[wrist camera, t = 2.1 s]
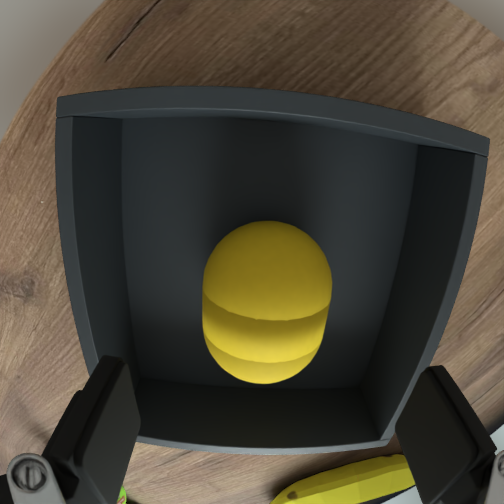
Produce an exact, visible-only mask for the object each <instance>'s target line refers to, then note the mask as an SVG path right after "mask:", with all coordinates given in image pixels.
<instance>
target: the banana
mask: <svg viewBox="0 0 504 504" xmlns="http://www.w3.org/2000/svg"><path fill="white" fill-rule="evenodd" d="M414 484H415V482H414V479H413V476H412V474H411V471H410V468H409V466H408V463H407V461H406V458H405V455H399V454H395V455H389V456H381V457H376V458H372V459H368V460H364V461H360V462H355V463H351V464H348V465H345V466H342V467H339V468H335V469H332V470H328V471H325V472H321V473H319V474H316V475H314V476H311V477H308V478H306V479H303V480H300V481H297V482H295V483H294V484H292V485H290V486H289V487H287V488H285V489H284V490H283V491H282V492H281V493H280V494H279V495H278V496H277V497H276V498H275V499H274V500H273V501H272V502H271V503H270V504H357V503H360V502H364V501H367V500H371V499H374V498H378V497H381V496H384V495H387V494H390V493H394V492H397V491H400V490H403V489H406V488H408V487H410V486H412V485H414Z"/></svg>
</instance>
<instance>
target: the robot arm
mask: <svg viewBox="0 0 504 504" xmlns="http://www.w3.org/2000/svg"><path fill="white" fill-rule="evenodd" d="M140 424H141V419H140V415H139V411H138V407H137V403H136V398H135V394H134V390H133V385H132V380H131V376H130V371H129V366H128V364H127V363H124V362H123V359H122V358H121V357H115V356H109V355H103V356H102V357H101V359H100V361H99V362H98V364H97V366H96V367H95V369H94V371H93V373H92V374H91V376H90V378H89V379H88V381H87V383H86V385H85V387H84V388H83V390H79V391H77V392H76V393H75V394H74V396H73V398H72V399H71V401H70V403H69V405H68V406H67V408H66V410H65V412H64V414H63V415H62V417H61V419H60V421H59V423H58V425H57V426H56V428H55V430H54V432H53V434H52V436H51V438H50V440H49V441H48V443H47V445H46V447H45V449H44V451H43V453H42V455H41V456H40V455H38V454H34V453H23V454H20V455H18V456H16V457H15V458H14V459H12V460H11V462H10V463H9V465H8V468H7V474H5V475H1V476H0V504H117V501H118V498H119V494H120V491H121V487H122V484H123V481H124V477H125V474H126V471H127V467H128V464H129V461H130V458H131V454H132V451H133V448H134V445H135V442H136V439H137V435H138V432H139V429H140ZM395 433H396V435H397V438H398V440H399V443H400V445H401V448H402V450H403V453H404V455H405V458H406V461H407V463H408V466H409V468H410V471H411V474H412V476H413V479H414V482H415V484H416V487H417V490H418V492H419V495H420V498H421V500H422V503H423V504H504V450H503V451H501V452H499V453H498V454H497V455H495V453H494V452H495V451H496V450H497V447H496V446H495V444H494V443H493V441H492V439H491V437H490V436H489V434H488V432H487V431H486V429H485V428H484V426H483V424H482V423H481V421H480V420H479V418H478V416H477V415H476V413H475V412H474V410H473V409H472V407H471V406H470V404H469V403H468V401H467V399H466V398H465V396H464V395H463V393H462V392H461V390H460V389H459V387H458V386H457V385H456V383H455V382H454V380H453V379H452V377H451V376H450V374H449V373H448V372H447V370H446V369H445V367H444V366H442V365H439V366H430V367H427V368H425V370H424V371H423V372H421V374H420V376H419V378H418V380H417V382H416V384H415V386H414V388H413V390H412V392H411V395H410V397H409V399H408V401H407V403H406V404H405V406H404V408H403V410H402V412H401V414H400V416H399V418H398V420H397V421H396V424H395Z"/></svg>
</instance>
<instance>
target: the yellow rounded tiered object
mask: <svg viewBox="0 0 504 504" xmlns="http://www.w3.org/2000/svg"><path fill="white" fill-rule="evenodd" d="M331 293H332V276H331V270H330V267H329V264H328V262H327V259H326V256H325V254H324V253H323V251H322V250H321V248H320V247H319V245H318V244H317V243H316V242H315V241H314V240H313V239H312V238H311V237H310V236H309V235H308V234H306V233H305V232H303V231H302V230H300V229H298V228H297V227H295V226H293V225H290V224H286V223H282V222H278V221H257V222H252V223H249V224H246V225H243V226H241V227H238V228H237V229H235V230H234V231H232V232H230V233H229V234H228V235H226V236H225V237H224V238H223V239H222V240H221V241H220V242H219V243H218V244H217V245H216V247H215V249H214V250H213V252H212V253H211V255H210V257H209V259H208V261H207V264H206V267H205V270H204V277H203V285H202V321H203V333H204V338H205V341H206V344H207V347H208V349H209V352H210V353H211V355H212V356H213V358H214V359H215V360H216V362H217V363H218V364H219V365H220V366H221V367H222V368H223V369H224V370H225V371H227V372H228V373H230V374H232V375H233V376H235V377H236V378H239V379H241V380H244V381H247V382H251V383H259V384H268V383H275V382H279V381H282V380H285V379H287V378H290V377H292V376H294V375H295V374H297V373H299V372H300V371H301V370H302V369H303V368H304V367H306V366H307V365H308V364H309V363H310V361H311V360H312V359H313V357H314V356H315V354H316V352H317V351H318V349H319V346H320V344H321V341H322V338H323V333H324V329H325V324H326V320H327V315H328V310H329V305H330V301H331Z"/></svg>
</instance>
